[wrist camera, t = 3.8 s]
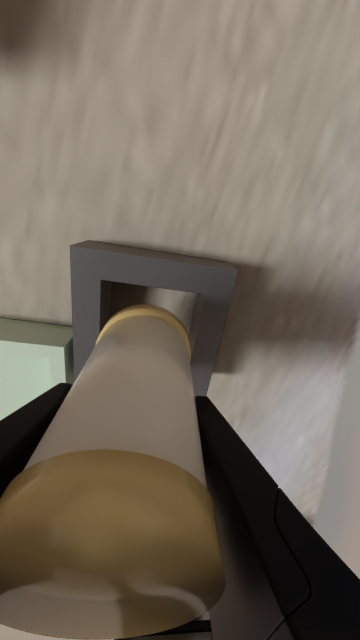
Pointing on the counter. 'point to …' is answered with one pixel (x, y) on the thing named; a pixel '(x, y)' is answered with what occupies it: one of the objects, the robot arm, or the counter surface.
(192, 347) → the socket block
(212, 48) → the counter surface
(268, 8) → the counter surface
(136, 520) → the fuse
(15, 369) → the parts tray
